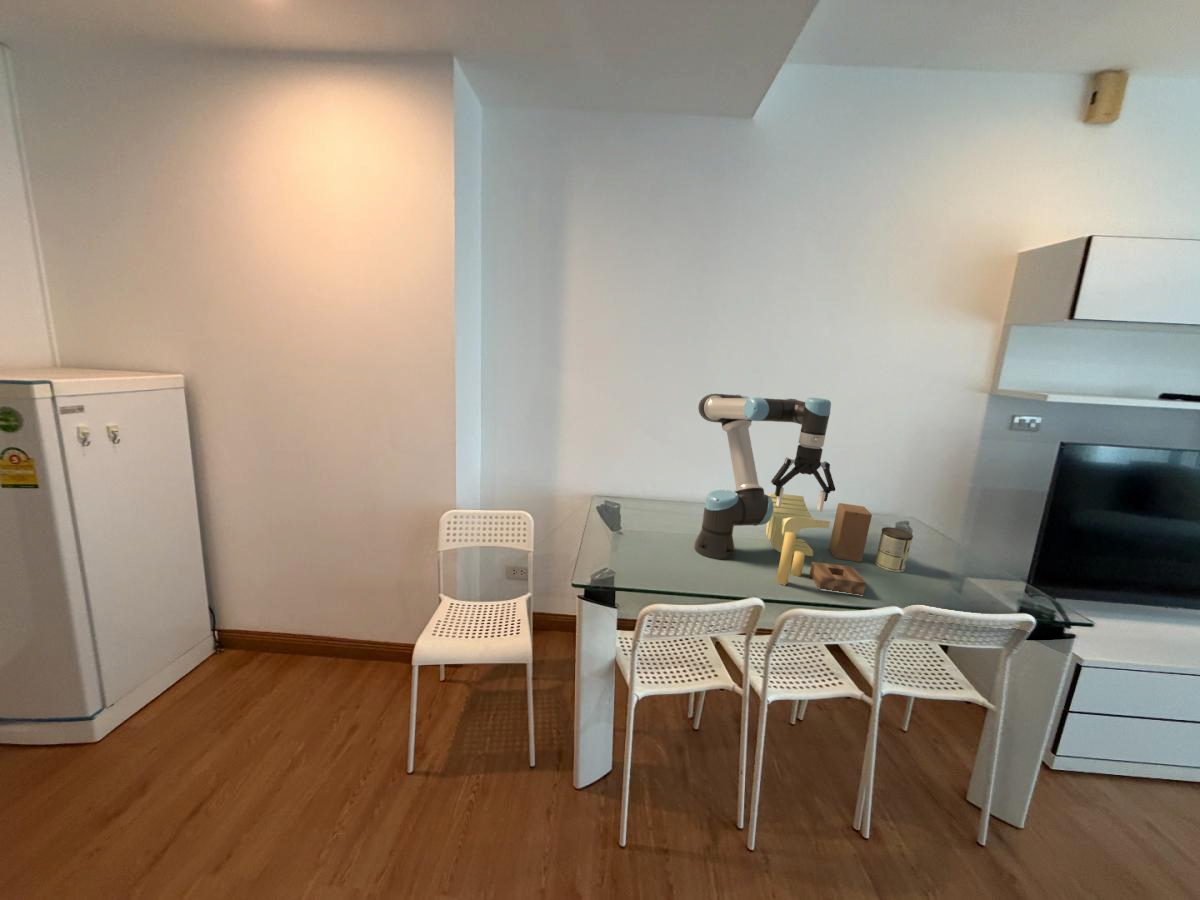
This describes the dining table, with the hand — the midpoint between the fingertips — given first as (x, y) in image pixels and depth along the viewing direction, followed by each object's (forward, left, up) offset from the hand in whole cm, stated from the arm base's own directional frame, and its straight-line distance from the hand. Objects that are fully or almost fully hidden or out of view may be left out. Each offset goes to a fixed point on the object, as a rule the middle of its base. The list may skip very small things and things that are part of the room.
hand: (798, 508), depth 166 cm
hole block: (+18, +2, -27) cm, 32 cm away
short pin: (+6, +7, -27) cm, 28 cm away
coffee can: (+46, +26, -27) cm, 59 cm away
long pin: (-1, -2, -27) cm, 27 cm away
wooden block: (+31, +31, -27) cm, 51 cm away
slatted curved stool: (+9, +32, -27) cm, 43 cm away
